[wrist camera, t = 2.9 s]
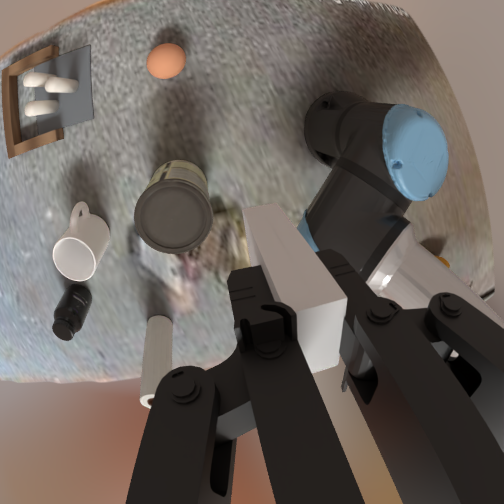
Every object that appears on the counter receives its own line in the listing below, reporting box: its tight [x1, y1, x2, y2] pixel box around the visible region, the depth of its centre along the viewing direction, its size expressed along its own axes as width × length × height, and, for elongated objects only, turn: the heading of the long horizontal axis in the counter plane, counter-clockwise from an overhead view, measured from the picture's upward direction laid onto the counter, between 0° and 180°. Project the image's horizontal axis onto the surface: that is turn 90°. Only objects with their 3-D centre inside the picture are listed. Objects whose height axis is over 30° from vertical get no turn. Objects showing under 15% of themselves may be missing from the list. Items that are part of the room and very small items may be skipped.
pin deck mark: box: [34, 45, 94, 135], centre depth 32 cm, size 12×14×1 cm
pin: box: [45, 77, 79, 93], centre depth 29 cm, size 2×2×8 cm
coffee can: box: [134, 160, 213, 254], centre depth 40 cm, size 10×10×14 cm
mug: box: [53, 201, 110, 281], centre depth 41 cm, size 12×8×10 cm
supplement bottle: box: [52, 284, 92, 341], centre depth 47 cm, size 7×7×12 cm
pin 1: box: [23, 72, 57, 87], centre depth 27 cm, size 2×2×8 cm
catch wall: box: [2, 45, 64, 159], centre depth 30 cm, size 12×18×3 cm, turn 2°
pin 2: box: [25, 100, 59, 116], centre depth 29 cm, size 2×2×8 cm
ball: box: [147, 43, 186, 79], centre depth 32 cm, size 6×6×6 cm
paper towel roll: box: [140, 315, 173, 409], centre depth 51 cm, size 7×6×21 cm
